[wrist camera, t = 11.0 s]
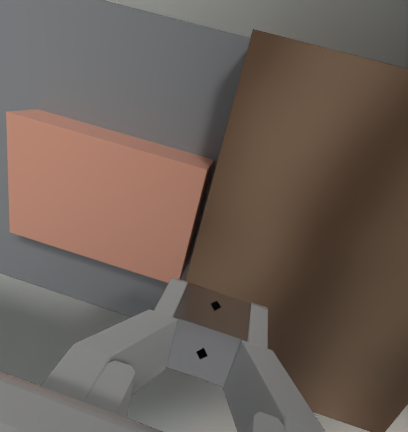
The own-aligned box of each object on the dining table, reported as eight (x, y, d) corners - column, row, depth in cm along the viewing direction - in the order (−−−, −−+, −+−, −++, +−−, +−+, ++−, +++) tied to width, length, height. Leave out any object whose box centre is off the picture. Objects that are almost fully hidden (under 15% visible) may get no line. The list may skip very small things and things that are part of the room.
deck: (561, 120, 11) (634, 127, 9) (366, 392, 18) (381, 435, 16) (254, 40, 12) (252, 29, 10) (175, 328, 19) (163, 360, 17)
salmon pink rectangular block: (214, 159, 14) (207, 170, 12) (187, 264, 17) (177, 285, 15) (37, 109, 15) (6, 111, 13) (36, 217, 17) (9, 232, 15)
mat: (254, 40, 12) (254, 39, 12) (175, 328, 19) (174, 331, 19) (-54, -40, 13) (-60, -42, 13) (-27, 260, 20) (-31, 262, 20)
